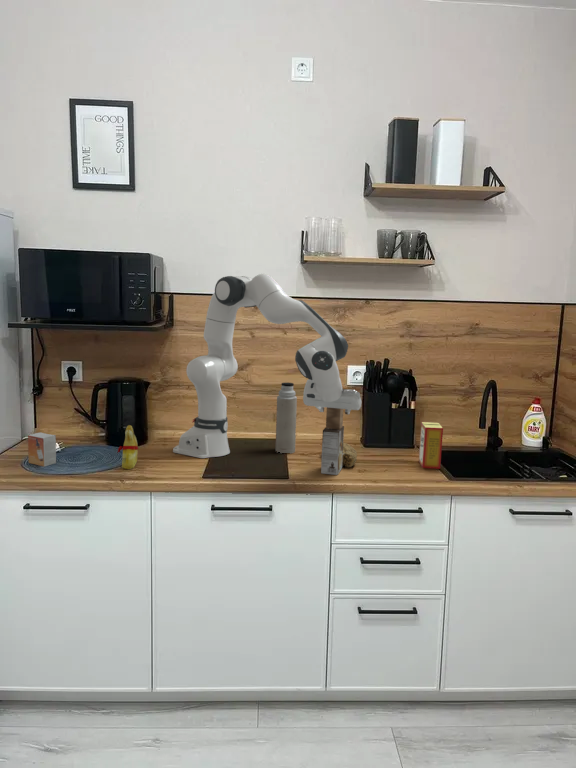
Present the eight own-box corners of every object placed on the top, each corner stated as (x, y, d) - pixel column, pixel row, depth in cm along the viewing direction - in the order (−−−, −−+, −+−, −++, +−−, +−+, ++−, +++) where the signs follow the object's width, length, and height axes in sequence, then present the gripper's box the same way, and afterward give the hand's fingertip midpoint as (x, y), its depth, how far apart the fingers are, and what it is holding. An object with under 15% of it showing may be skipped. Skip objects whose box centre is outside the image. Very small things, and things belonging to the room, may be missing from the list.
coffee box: (325, 466, 216) (327, 424, 213) (342, 468, 214) (344, 425, 212) (320, 473, 207) (322, 429, 204) (338, 475, 205) (340, 431, 203)
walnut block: (325, 428, 207) (326, 406, 206) (329, 425, 212) (330, 403, 210) (339, 429, 205) (340, 407, 204) (342, 426, 210) (343, 405, 209)
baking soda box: (440, 468, 217) (443, 427, 215) (422, 467, 218) (425, 426, 215) (435, 461, 226) (438, 421, 224) (418, 460, 227) (421, 420, 224)
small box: (28, 463, 208) (27, 435, 206) (40, 459, 213) (39, 431, 211) (44, 467, 204) (43, 438, 203) (56, 463, 209) (55, 434, 208)
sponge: (358, 471, 215) (357, 447, 233) (356, 453, 212) (354, 429, 231) (323, 475, 217) (324, 451, 235) (320, 457, 214) (322, 433, 233)
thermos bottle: (272, 451, 233) (273, 383, 228) (280, 447, 240) (282, 380, 235) (289, 454, 229) (292, 385, 225) (298, 450, 236) (300, 382, 232)
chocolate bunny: (140, 461, 215) (139, 421, 212) (134, 470, 204) (134, 428, 202) (121, 461, 214) (120, 421, 212) (114, 470, 203) (114, 428, 201)
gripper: (361, 383, 194) (365, 406, 205) (302, 379, 201) (309, 402, 211) (358, 398, 191) (362, 421, 202) (298, 393, 197) (305, 416, 208)
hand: (334, 411), depth 207 cm, fingers open, 8 cm apart
